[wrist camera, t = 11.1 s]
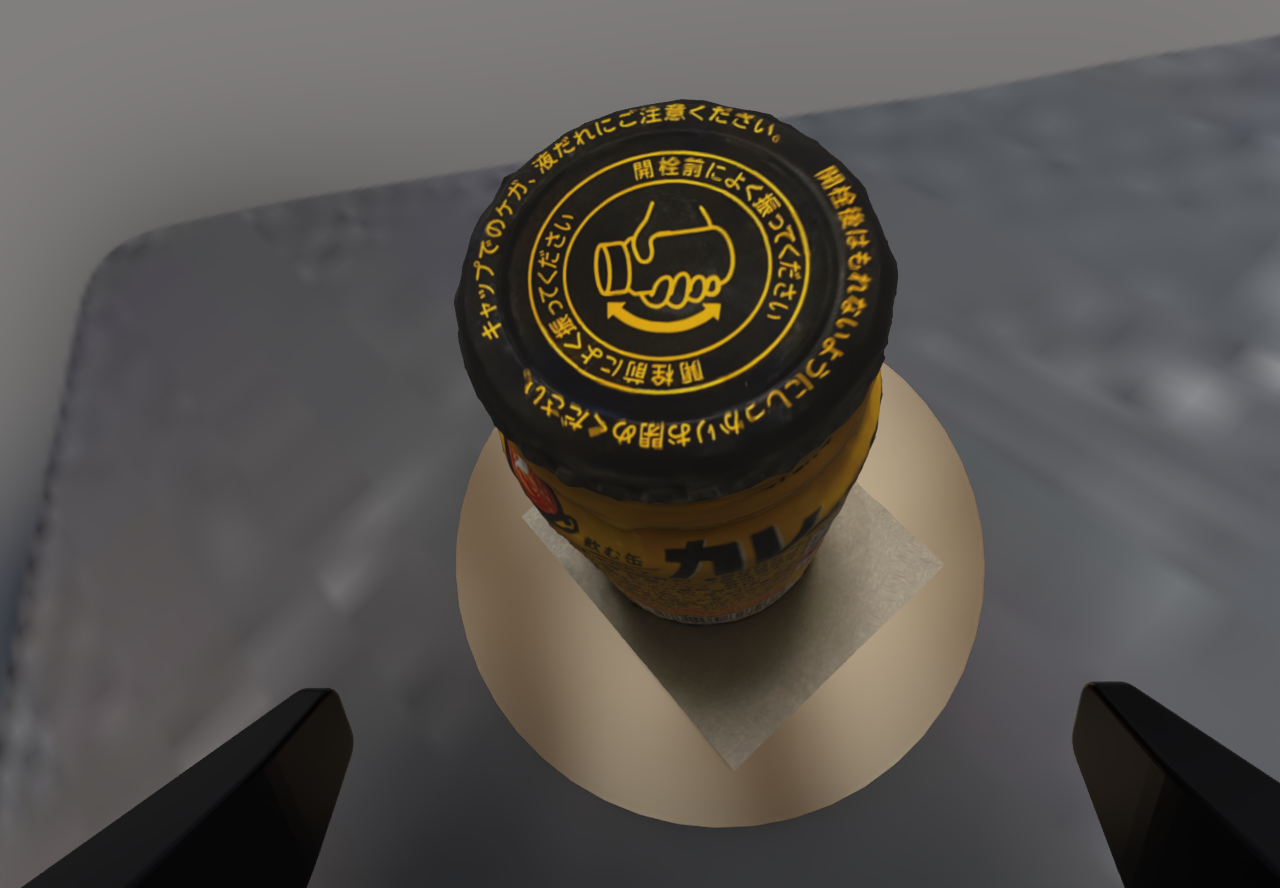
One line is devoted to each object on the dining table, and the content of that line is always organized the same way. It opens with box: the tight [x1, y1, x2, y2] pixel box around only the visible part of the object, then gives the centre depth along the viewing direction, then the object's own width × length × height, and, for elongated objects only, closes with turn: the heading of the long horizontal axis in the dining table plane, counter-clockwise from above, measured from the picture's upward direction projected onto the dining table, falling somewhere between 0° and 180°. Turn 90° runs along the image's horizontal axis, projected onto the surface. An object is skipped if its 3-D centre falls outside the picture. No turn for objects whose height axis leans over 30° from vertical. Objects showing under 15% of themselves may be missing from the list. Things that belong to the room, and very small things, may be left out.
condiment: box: [454, 99, 945, 771], centre depth 13 cm, size 7×8×12 cm
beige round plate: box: [456, 363, 985, 828], centre depth 20 cm, size 14×14×1 cm
